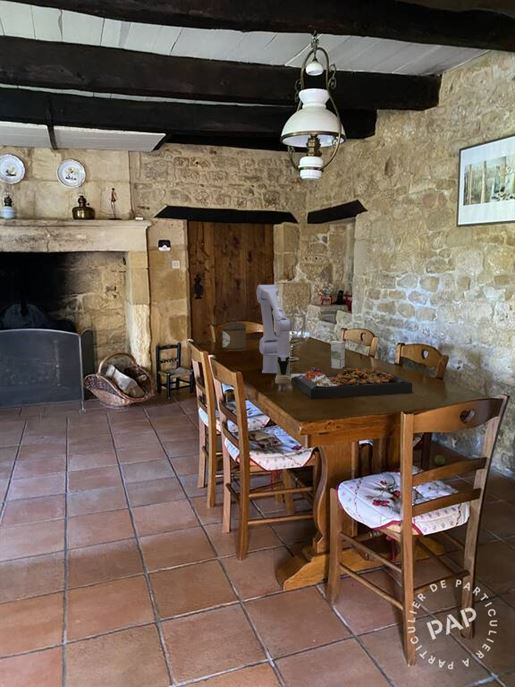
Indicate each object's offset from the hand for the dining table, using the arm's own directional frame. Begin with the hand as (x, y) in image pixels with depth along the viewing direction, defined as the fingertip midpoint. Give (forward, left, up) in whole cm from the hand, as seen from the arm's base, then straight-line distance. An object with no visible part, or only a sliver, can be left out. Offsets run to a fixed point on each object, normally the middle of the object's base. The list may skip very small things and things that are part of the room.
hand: (283, 373), depth 239 cm
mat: (-7, +7, -3) cm, 10 cm away
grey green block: (0, 0, -2) cm, 2 cm away
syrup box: (-27, +28, -3) cm, 39 cm away
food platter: (+17, +30, -4) cm, 35 cm away
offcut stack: (+8, 0, -3) cm, 8 cm away
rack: (0, 0, -3) cm, 3 cm away
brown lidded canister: (-72, -32, -3) cm, 79 cm away
